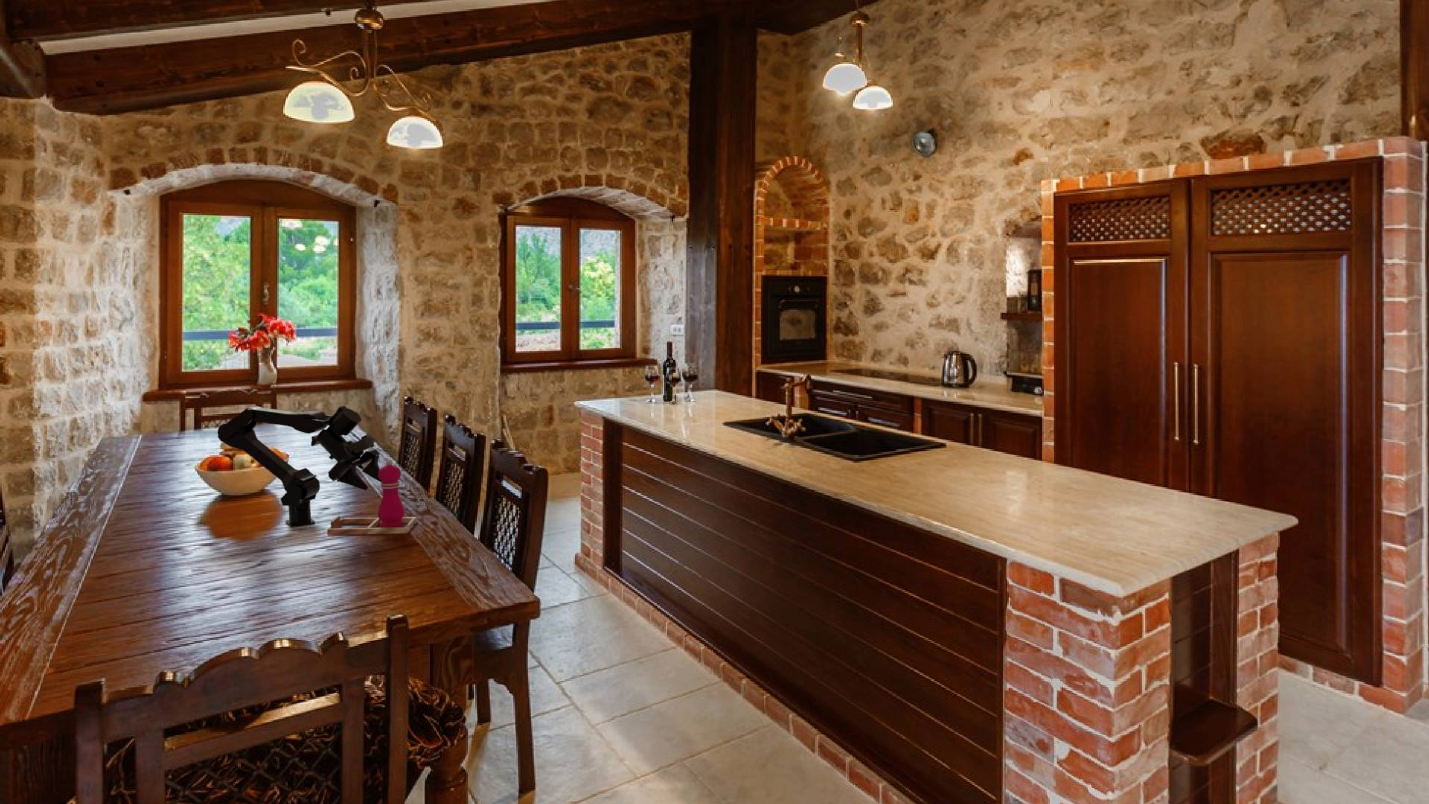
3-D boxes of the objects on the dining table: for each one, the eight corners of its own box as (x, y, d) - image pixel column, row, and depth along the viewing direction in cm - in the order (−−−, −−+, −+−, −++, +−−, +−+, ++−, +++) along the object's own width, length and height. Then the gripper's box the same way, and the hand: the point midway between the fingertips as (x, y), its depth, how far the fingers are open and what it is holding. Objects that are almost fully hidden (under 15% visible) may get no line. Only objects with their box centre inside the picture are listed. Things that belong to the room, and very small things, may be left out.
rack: (327, 534, 227) (326, 524, 227) (341, 523, 238) (340, 513, 238) (406, 533, 230) (406, 522, 229) (416, 522, 241) (416, 512, 240)
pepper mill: (396, 532, 230) (393, 463, 228) (373, 530, 232) (370, 461, 229) (410, 525, 237) (407, 458, 235) (388, 523, 239) (385, 456, 236)
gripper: (336, 433, 223) (376, 474, 223) (372, 421, 241) (409, 459, 241) (310, 460, 225) (350, 500, 225) (348, 447, 243) (385, 484, 243)
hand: (375, 485), depth 233 cm, fingers open, 9 cm apart
